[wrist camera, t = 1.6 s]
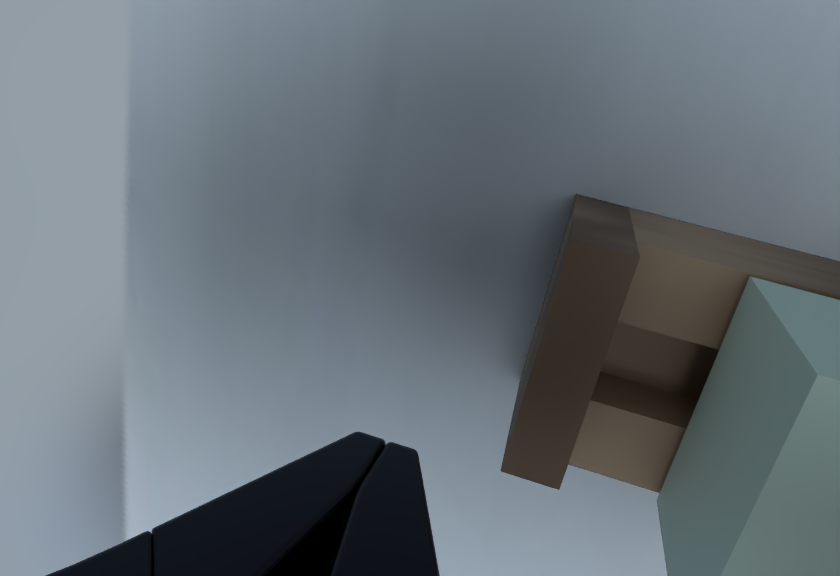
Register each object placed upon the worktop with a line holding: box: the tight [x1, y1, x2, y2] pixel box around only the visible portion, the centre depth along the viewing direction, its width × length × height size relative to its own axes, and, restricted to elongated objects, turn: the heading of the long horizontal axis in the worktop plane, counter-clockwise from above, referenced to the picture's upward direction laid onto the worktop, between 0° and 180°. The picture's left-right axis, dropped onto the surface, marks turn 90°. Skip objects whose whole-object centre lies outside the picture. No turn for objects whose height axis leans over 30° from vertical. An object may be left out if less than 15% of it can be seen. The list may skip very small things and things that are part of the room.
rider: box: [657, 276, 840, 576], centre depth 12 cm, size 4×5×6 cm
